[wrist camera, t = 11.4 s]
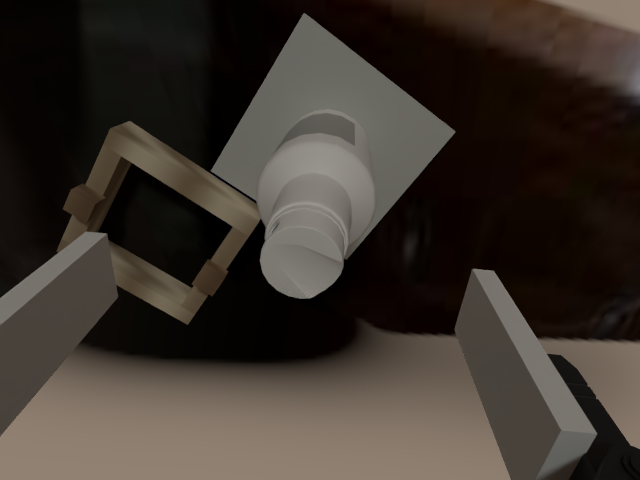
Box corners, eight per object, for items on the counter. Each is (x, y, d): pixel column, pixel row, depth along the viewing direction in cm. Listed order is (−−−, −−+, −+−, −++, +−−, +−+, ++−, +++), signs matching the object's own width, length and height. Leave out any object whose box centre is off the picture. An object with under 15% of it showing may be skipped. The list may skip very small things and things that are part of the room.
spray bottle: (319, 89, 31) (281, 145, 14) (387, 146, 32) (422, 255, 16) (268, 158, 33) (187, 272, 17) (333, 208, 35) (316, 356, 19)
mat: (213, 169, 35) (211, 171, 34) (304, 13, 29) (304, 12, 28) (346, 256, 37) (346, 259, 37) (453, 130, 32) (455, 131, 31)
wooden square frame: (74, 234, 38) (42, 258, 34) (126, 119, 33) (96, 130, 29) (200, 307, 41) (184, 336, 37) (267, 210, 36) (256, 232, 32)
